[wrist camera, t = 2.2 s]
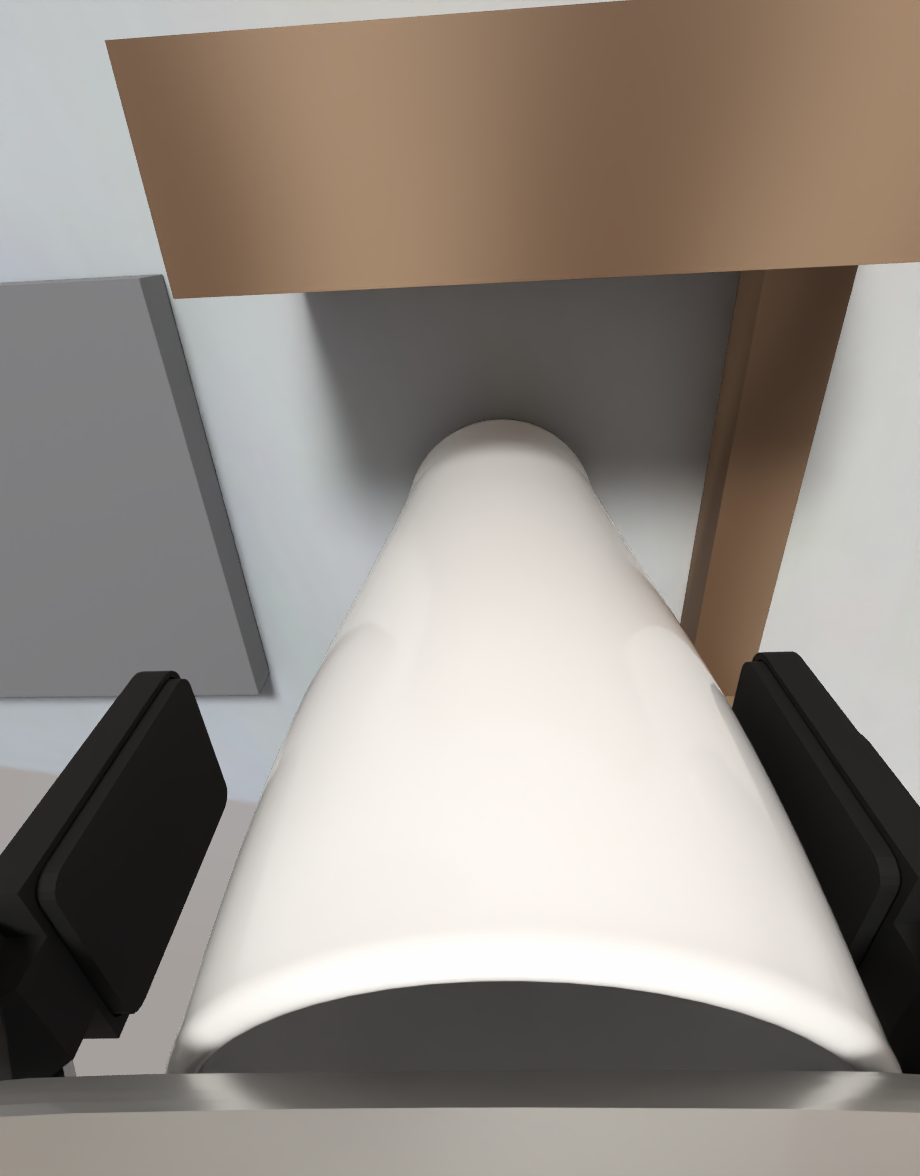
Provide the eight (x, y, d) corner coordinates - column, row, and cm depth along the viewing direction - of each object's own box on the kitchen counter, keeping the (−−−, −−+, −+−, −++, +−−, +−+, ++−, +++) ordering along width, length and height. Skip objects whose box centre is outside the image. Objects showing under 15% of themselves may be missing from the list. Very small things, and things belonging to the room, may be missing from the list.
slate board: (162, 274, 15) (138, 278, 14) (269, 672, 22) (258, 694, 21) (-308, 299, 16) (-363, 304, 15) (-67, 676, 23) (-93, 697, 22)
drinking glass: (556, 621, 20) (668, 1289, 8) (363, 559, 20) (124, 1203, 7) (655, 435, 17) (1149, 1083, 4) (426, 349, 16) (188, 850, 3)
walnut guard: (869, 77, 13) (1194, -43, 7) (716, 729, 23) (796, 911, 17) (272, 117, 14) (105, 40, 8) (374, 731, 24) (334, 906, 18)
